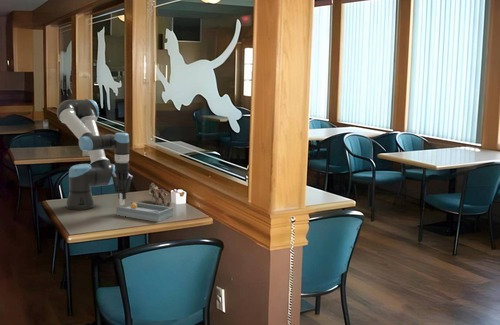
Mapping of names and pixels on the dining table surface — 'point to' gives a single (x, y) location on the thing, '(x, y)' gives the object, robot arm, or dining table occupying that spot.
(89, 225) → the dining table surface
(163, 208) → the tray
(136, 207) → the ball
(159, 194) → the figurine
